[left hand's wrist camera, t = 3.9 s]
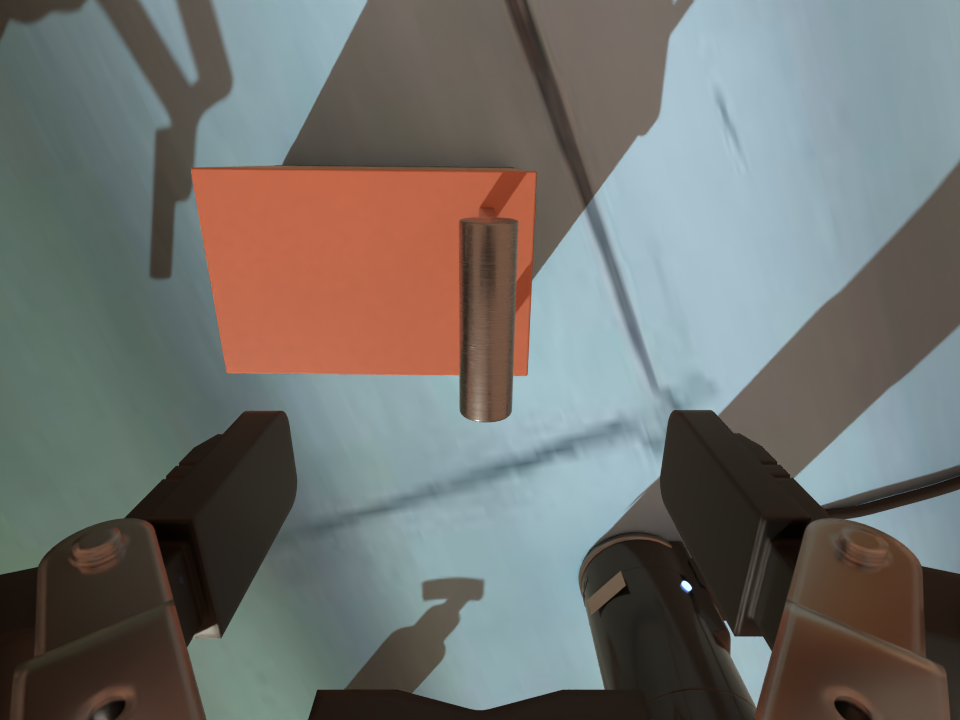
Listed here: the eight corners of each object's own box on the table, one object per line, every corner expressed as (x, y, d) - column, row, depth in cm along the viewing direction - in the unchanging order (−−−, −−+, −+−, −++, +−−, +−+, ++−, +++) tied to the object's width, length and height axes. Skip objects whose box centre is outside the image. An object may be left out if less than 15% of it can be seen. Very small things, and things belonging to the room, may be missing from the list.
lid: (534, 171, 25) (562, 176, 16) (525, 368, 28) (544, 457, 20) (201, 167, 25) (55, 171, 16) (235, 366, 28) (130, 453, 20)
